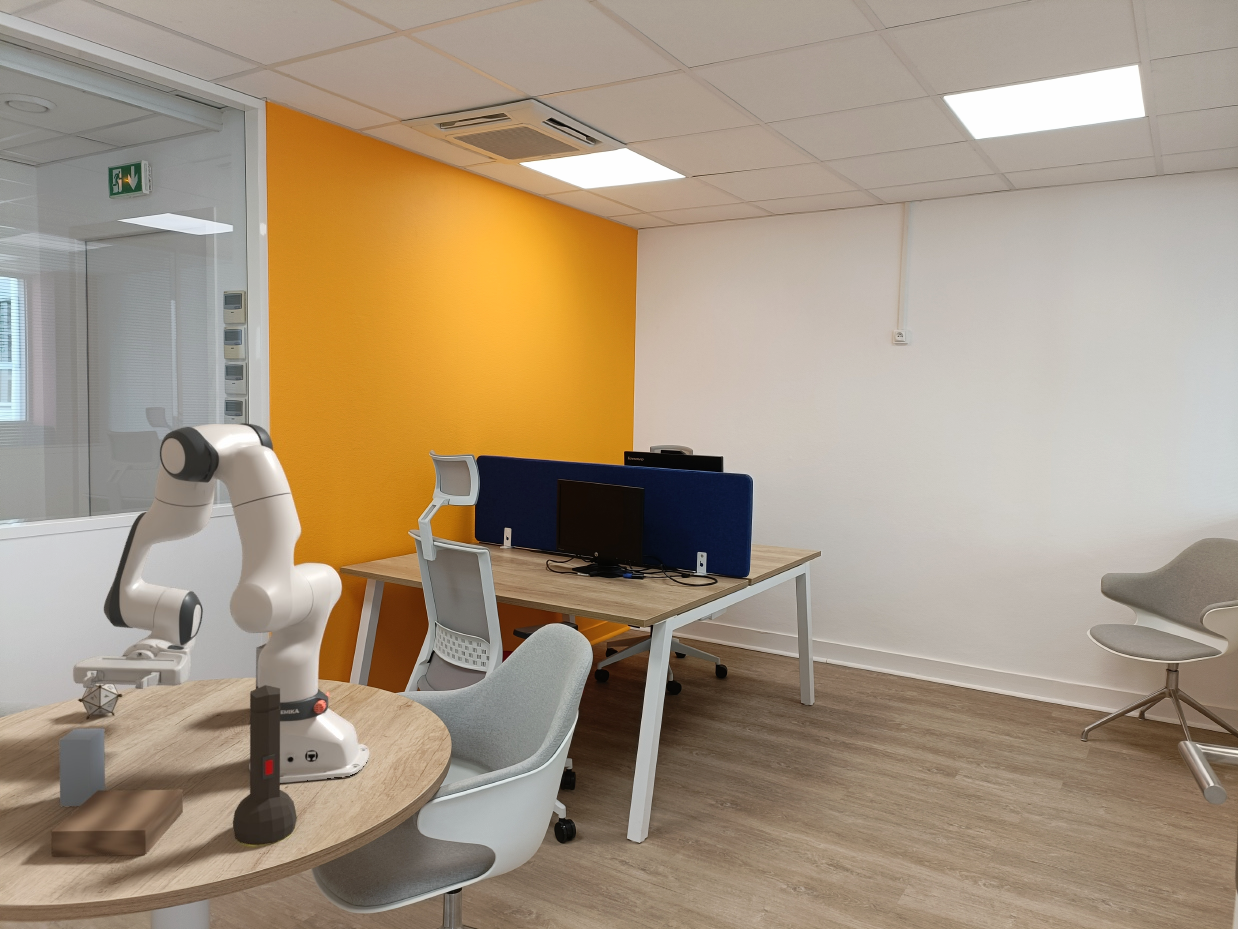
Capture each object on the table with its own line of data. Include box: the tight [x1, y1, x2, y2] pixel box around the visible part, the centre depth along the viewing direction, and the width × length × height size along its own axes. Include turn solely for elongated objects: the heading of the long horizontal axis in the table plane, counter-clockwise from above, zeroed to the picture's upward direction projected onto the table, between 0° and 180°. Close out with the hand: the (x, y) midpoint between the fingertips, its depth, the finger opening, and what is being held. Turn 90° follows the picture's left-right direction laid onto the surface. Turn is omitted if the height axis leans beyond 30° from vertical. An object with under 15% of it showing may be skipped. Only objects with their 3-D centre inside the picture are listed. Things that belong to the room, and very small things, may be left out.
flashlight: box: [232, 685, 298, 846], centre depth 142 cm, size 10×25×10 cm
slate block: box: [58, 728, 106, 807], centre depth 151 cm, size 5×5×12 cm
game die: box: [77, 684, 123, 720], centre depth 191 cm, size 9×8×10 cm
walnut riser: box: [51, 789, 184, 857], centre depth 141 cm, size 14×14×4 cm
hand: (113, 684), depth 162 cm, fingers open, 8 cm apart
